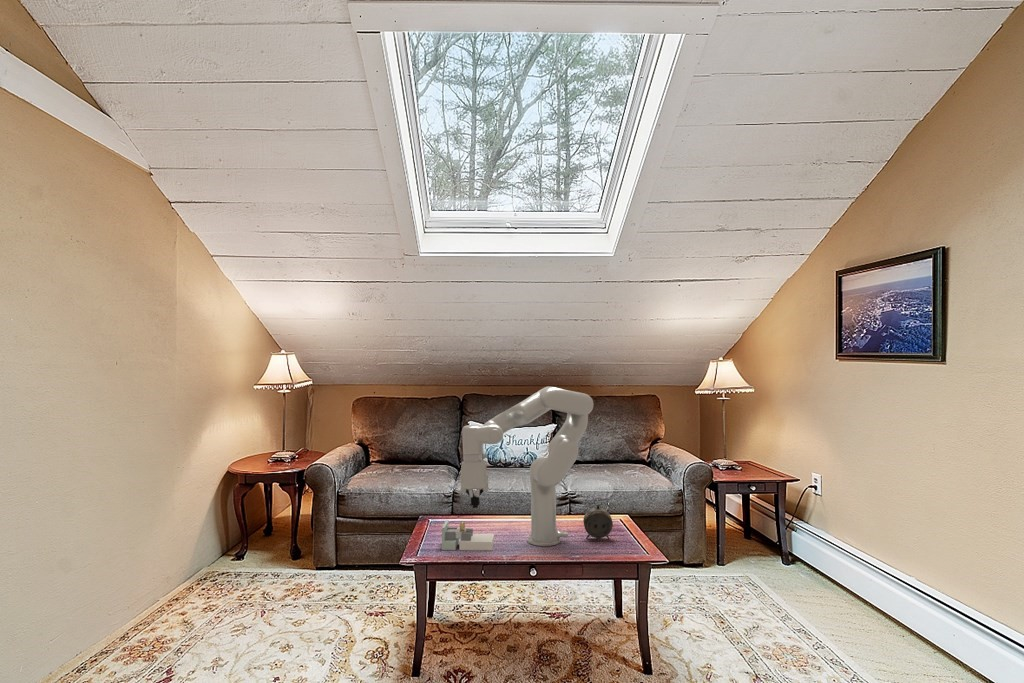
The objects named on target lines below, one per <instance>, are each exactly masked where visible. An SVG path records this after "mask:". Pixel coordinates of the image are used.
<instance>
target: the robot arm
mask: <svg viewBox="0 0 1024 683" xmlns="http://www.w3.org/2000/svg"><path fill="white" fill-rule="evenodd" d="M593 409H594V400H593V398H592V397H591V396H590V395H589V394H587V393H583V392H579V391H573V390H568V389H563V388H559V387H556V386H545V387H543V388H541V389H540V390H537V392H535V393H533V394H531V395H530V396H528V397H527V398H525V399H524V400H522V401H520V402H518V403H517V404H514V405H513V406H511V407H510V408H508V409H505V411H502V412H500V413H498V414H497V415H496V416H493V418H492V417H491V419H489V420H488V421H486V422H484V424H483V425H479V424H468V425H464V426H463V427H462V429H461V434H462V436H461V437H462V456H463V457H462V458H463V461H461V465H460V466H461V468H460V492H461V493H466V494H467V495H468V496H469V497H470V505H471V506H472V508H473V509H478V508H479V506H480V496H481V495H482V494H483V493H485V492H489V490H490V489H489V488H490V487H489V475H488V474H489V472H488V467H487V461H486V460H485V459H488V454H485V453H484V448H483V447H484V444H485V445H497V444H499V443H500V442H502V440H503V438H504V434H505V433H506V432H508V431H510V430H511V429H514V428H517V427H520V426H524V425H527V424H531V423H532V422H533V421H535V420H536V419H537V418H540V417H541V416H542V415H544V414H546V413H547V412H548V411H550V410H553V411H557V412H561V413H566V415H567V416H566V419H565V421H564V423H563V424H562V426H561V427H560V428H559V430H558V431H557V433H556V434H555V435H554V437H553V438H552V439H551V440H550V441H549V444H548V446H547V449H548V450H547V451H548V453H549V454H548V455H547V457H538V458H536V459H534V460H533V461H532V462H531V465H530V467H529V481H530V482H529V483H530V496H531V497H530V519H531V521H530V522H531V526H530V527H531V528H530V529H531V530H530V531H531V532H530V533H531V534H530V535H529V536H528V537H527V538H526V540H527V542H528V544H531V545H534V546H537V547H538V546H539V547H549V546H555V545H558V544H559V543H560V542H561V538H569V532H568V531H565V530H559V529H558V527H557V492H556V490H557V489H556V486H557V485H558V484H560V482H562V480H563V479H564V478H565V476H566V475H567V474H568V473H569V471H570V470H571V468H572V467H573V466H574V465H575V464H574V463H575V462H576V461H577V459H578V456H579V450H580V449H579V446H578V443H579V441H580V440H581V439H582V437H583V435H584V434H585V432H586V430H587V428H588V423H589V414H590V413H591V412H592V411H593ZM474 490H476V494H474Z"/></svg>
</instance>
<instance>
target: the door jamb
mask: <svg viewBox="0 0 1024 683" xmlns="http://www.w3.org/2000/svg"><path fill="white" fill-rule="evenodd" d="M449 524H450V523H449V520H445V522H444V523H443V526H442V527H441V550H442V551H456V550H457V548H458V545H459V542H460V539H455V531H447V530H448V529H458V527H457V526H449Z"/></svg>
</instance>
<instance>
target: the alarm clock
mask: <svg viewBox="0 0 1024 683" xmlns="http://www.w3.org/2000/svg"><path fill="white" fill-rule="evenodd" d="M597 499H600V500H601V504H596V503H595V501H596V500H597ZM593 504H594V506H596V507H592V508H590V509H588V510H587V511H586V512H585V514H584V516H583V526H584V529H585V532H586V533H587V536H586V538H585V539H586V540H588V539H589V537H592V538H595V539H596V540H597V542H600V539H603V538H607V540H610V539H611V538H610V536H609V535H610V534H611V532H612V529H613V526H614V524H613V519H612V516H611V513H610V512H608V510H606V509H605V508H603V507H600V506H601V505H603V499H602V497H595V498H594V500H593Z"/></svg>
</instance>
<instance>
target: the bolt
mask: <svg viewBox="0 0 1024 683" xmlns="http://www.w3.org/2000/svg"><path fill="white" fill-rule="evenodd" d="M465 528H466V522H465V521H459V528H457V529H448V530H447V531H455V539H459V540H460V539H461V533H467V529H465Z"/></svg>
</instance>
